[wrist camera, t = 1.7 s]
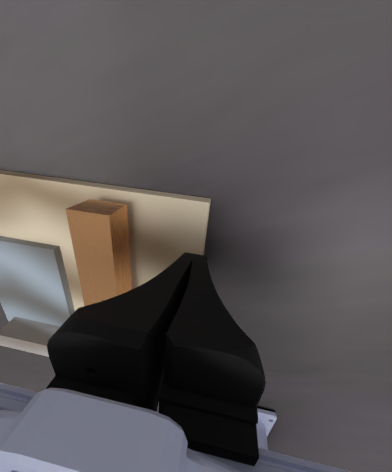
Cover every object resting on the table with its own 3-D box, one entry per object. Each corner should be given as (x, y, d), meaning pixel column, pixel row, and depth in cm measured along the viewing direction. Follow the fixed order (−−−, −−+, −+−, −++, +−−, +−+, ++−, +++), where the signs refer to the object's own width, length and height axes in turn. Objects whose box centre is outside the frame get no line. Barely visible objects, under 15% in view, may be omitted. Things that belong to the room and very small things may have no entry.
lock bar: (139, 348, 18) (129, 372, 16) (105, 341, 18) (91, 363, 16) (133, 205, 12) (116, 216, 10) (83, 198, 12) (58, 207, 10)
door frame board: (188, 373, 21) (180, 413, 18) (34, 338, 23) (4, 369, 20) (211, 198, 13) (204, 216, 10) (-31, 165, 15) (-101, 172, 12)
